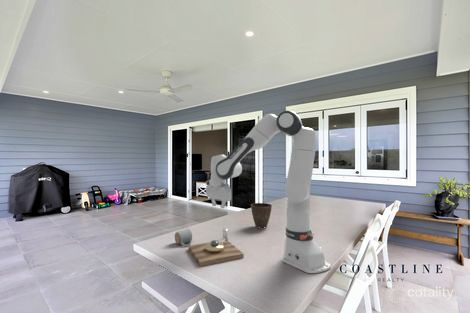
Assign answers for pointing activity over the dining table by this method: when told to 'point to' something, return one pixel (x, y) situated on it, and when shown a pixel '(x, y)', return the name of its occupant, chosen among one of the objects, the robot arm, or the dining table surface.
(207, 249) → the brass and silver crank
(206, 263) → the brown flat wooden board
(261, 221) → the plant pot
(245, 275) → the dining table surface
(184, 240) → the ceramic mug
